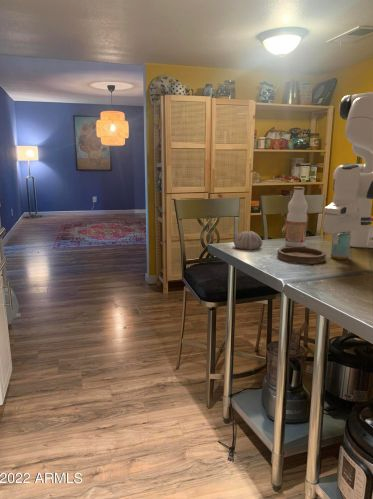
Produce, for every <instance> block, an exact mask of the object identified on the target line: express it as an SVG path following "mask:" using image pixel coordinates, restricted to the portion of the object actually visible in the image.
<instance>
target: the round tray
mask: <svg viewBox="0 0 373 499" xmlns="http://www.w3.org/2000/svg"><path fill="white" fill-rule="evenodd" d="M276 254H277V259H279V260H282V261H285V262H286V263H287V262H288V263H294V264H303V265H311V264H313V265H314V264H315V265H316V264H322V263H324V262H325V261H326V256H327V253H326V252H325V251H324V250H321V249H317V248H313V247H312V248H311V247H307V246H306V247H305V246H304V247H290V246H285V247H280V248H278V249H277V253H276Z"/></svg>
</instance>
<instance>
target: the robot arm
mask: <svg viewBox="0 0 373 499" xmlns="http://www.w3.org/2000/svg"><path fill="white" fill-rule="evenodd" d="M338 105H339V106H338V113H339V116H340V118H341V119H342V120H345V121H346V123H345V132H344V133H345V134H344V135H345V139H346V140H347V141H348V142H349V143H350V144H352V145H351V151H352V153H353V154H354V155H355V156H357V157H358V158H362V159H363V160H364V163H343V164H340V165H338V166H337V167H336V168H335V170H334V171H333V175H332V176H333V186H332V190H333V191H334V195H333V197H332V202H331V203H329V204H328V205H327V206H325V207H324V209H323V212H324V214H325V215H324V217H323V224H322V230H323V233H324V234H328V235H331V237H333V244H339V241H340V240H339V239H338V236H339V233H341V232H345V234H349V237H350V235H351V240H350V247H353V248H368V249H369V248H371V249H373V225H372V222H373V216H371V214H372V213H371V212H372V211H371V210H372V206H373V205H372V204H373V202H372V200H373V91H368V92H364V93H362V92H361V93H356V94H352V93H351V94H348V95H345V96H343V98H341V101H340V103H339V104H338ZM348 242H349V241H348Z"/></svg>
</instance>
